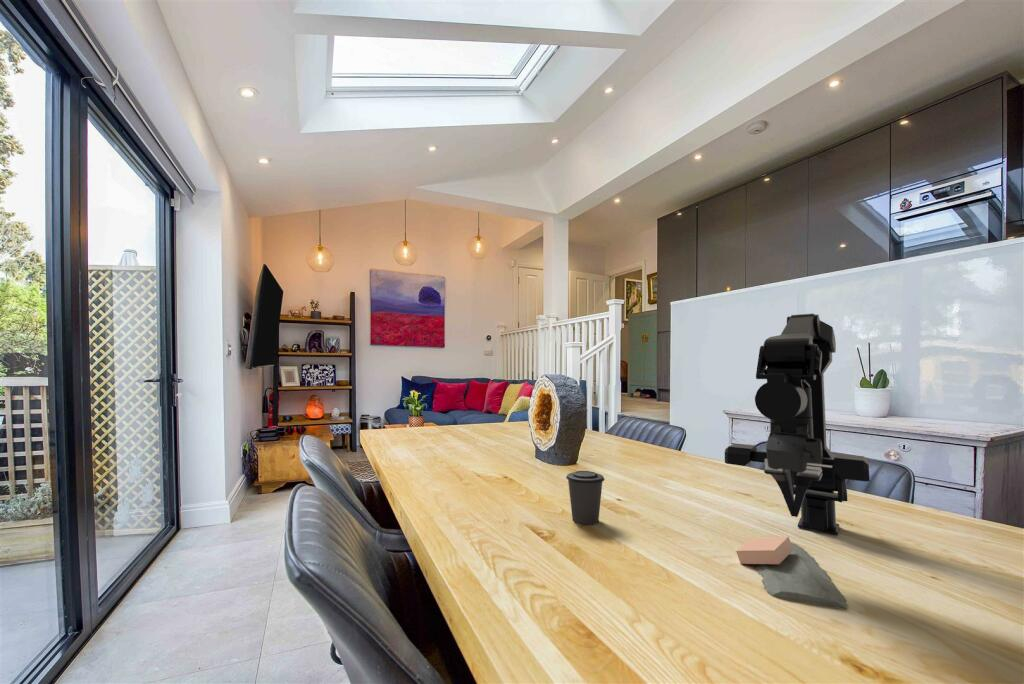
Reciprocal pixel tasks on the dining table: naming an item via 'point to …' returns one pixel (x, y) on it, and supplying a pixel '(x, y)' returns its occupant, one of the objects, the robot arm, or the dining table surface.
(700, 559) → the dining table surface
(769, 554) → the block
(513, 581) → the dining table surface
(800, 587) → the stone slab
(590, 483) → the coffee cup
